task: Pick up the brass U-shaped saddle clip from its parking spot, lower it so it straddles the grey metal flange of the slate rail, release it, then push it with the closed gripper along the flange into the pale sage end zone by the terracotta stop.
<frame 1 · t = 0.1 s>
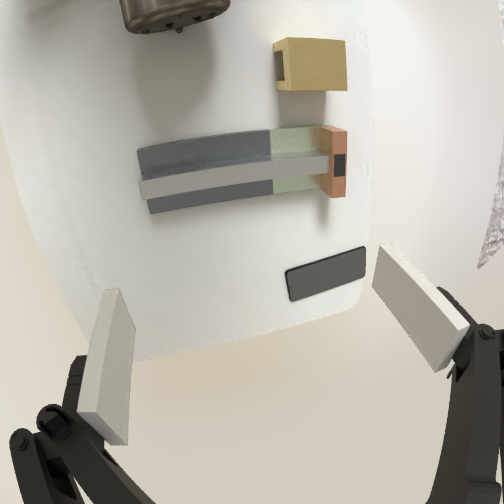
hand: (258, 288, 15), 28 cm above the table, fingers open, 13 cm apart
alarm clock: (177, 18, 28), on the table
clip: (300, 66, 34), on the table
rail: (240, 165, 39), on the table
smartphone: (326, 271, 53), on the table
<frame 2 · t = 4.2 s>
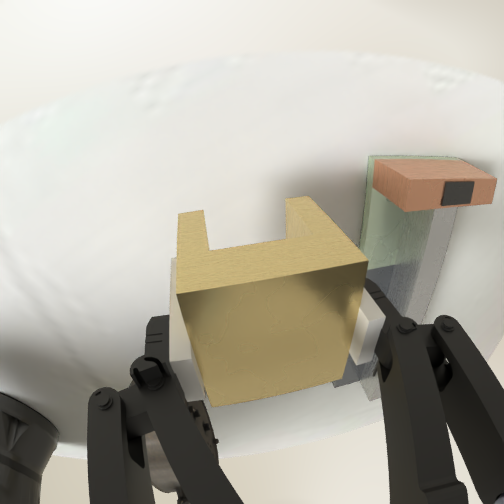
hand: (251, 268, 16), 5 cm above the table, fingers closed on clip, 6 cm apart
alarm clock: (177, 372, 27), on the table
clip: (249, 264, 16), point 5 cm above the table, touching gripper
rail: (391, 292, 26), on the table
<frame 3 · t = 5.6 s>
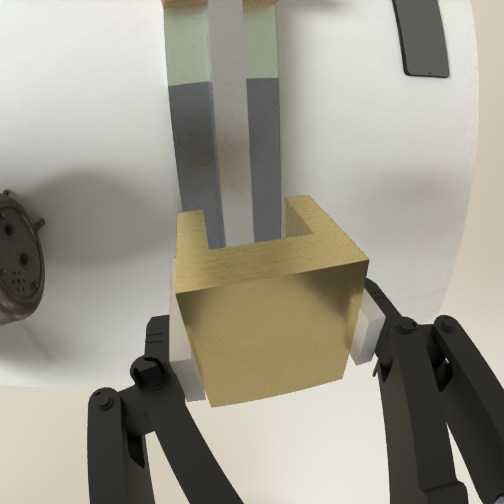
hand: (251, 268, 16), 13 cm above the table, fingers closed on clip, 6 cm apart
alarm clock: (29, 224, 25), on the table
clip: (249, 264, 16), point 13 cm above the table, touching gripper
rail: (225, 124, 24), on the table
smartphone: (414, 14, 21), on the table
when the fingers open (1 cm above the table, at t = 7.1 s): clip stays where it is, resting on rail.
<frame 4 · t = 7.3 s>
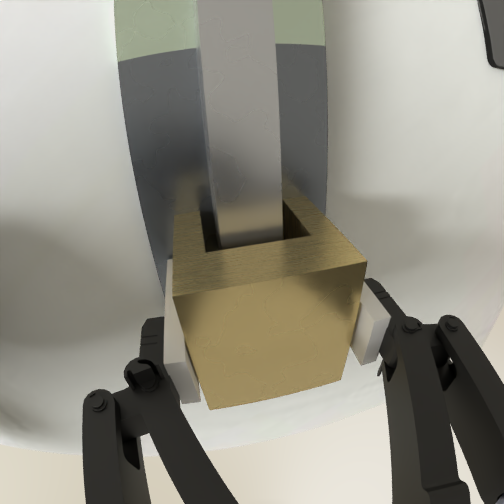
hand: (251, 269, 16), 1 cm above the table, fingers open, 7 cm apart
clip: (246, 265, 16), point 1 cm above the table, touching rail
rail: (229, 130, 13), on the table
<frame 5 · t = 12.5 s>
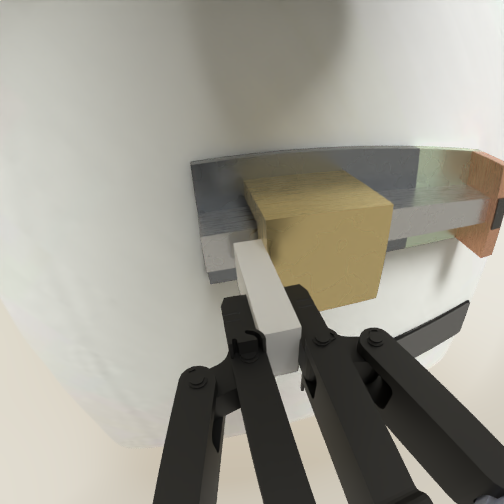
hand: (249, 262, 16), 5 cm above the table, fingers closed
clip: (296, 218, 21), point 1 cm above the table, touching gripper
rail: (369, 201, 22), on the table
smartphone: (424, 333, 36), on the table
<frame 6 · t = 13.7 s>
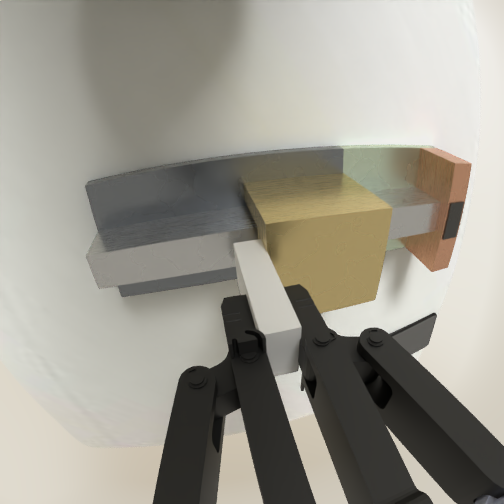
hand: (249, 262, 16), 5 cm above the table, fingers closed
clip: (296, 220, 21), point 1 cm above the table, touching gripper
rail: (285, 211, 21), on the table
smartphone: (384, 347, 35), on the table
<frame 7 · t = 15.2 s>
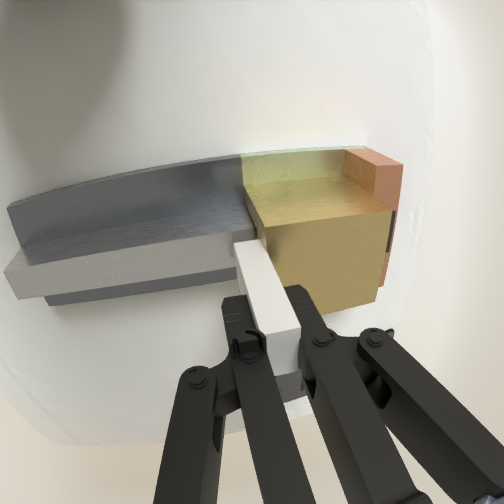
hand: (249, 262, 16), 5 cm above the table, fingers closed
clip: (296, 222, 21), point 1 cm above the table, touching gripper, rail
rail: (187, 226, 21), on the table
smartphone: (334, 363, 34), on the table
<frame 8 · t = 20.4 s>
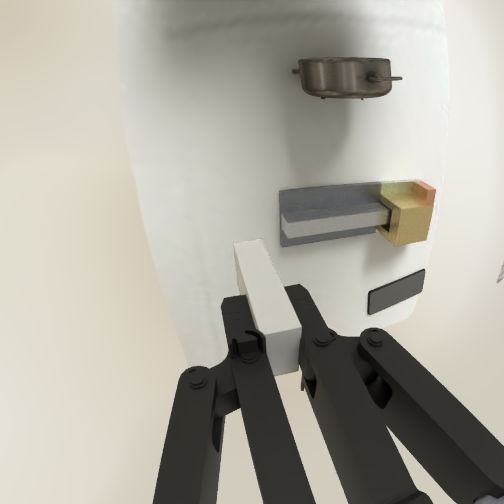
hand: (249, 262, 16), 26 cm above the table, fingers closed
alarm clock: (323, 76, 36), on the table
clip: (394, 210, 48), point 1 cm above the table, touching rail
rail: (356, 209, 47), on the table
smartphone: (395, 289, 61), on the table
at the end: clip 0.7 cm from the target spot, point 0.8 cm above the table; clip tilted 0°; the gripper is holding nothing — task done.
